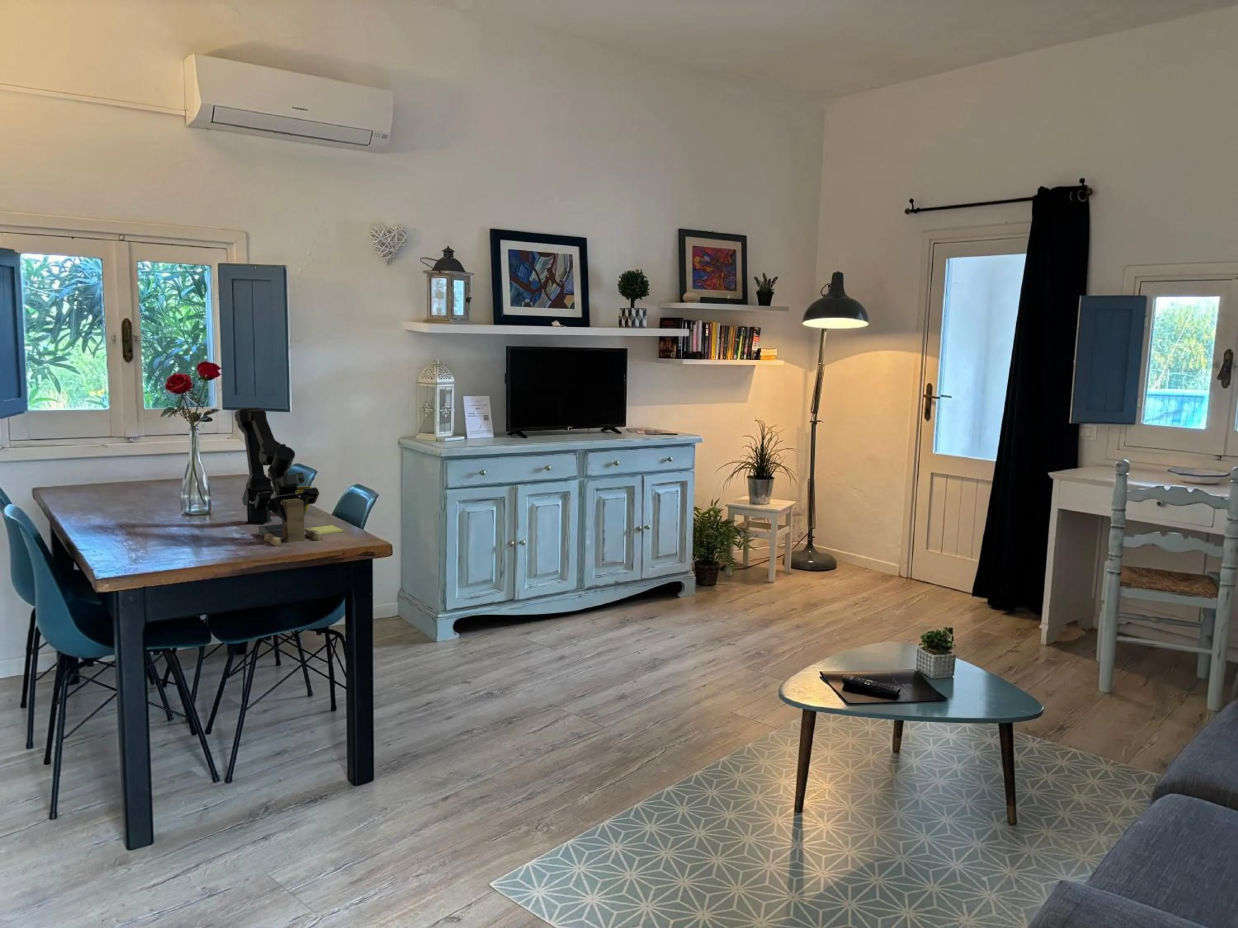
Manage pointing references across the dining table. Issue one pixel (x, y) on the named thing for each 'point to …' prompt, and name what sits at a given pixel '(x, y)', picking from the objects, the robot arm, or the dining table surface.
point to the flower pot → (300, 490)
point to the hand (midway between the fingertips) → (294, 519)
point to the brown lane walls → (277, 541)
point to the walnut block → (293, 520)
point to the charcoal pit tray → (271, 530)
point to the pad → (327, 529)
